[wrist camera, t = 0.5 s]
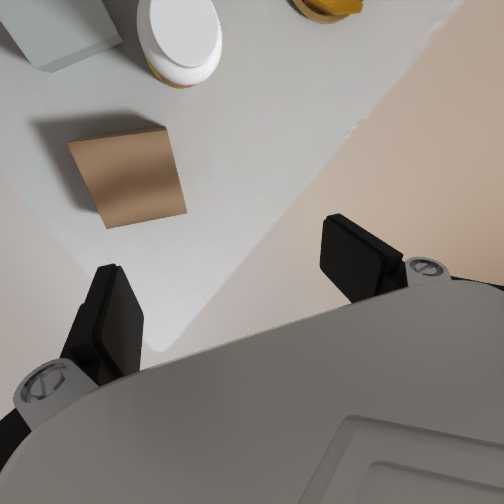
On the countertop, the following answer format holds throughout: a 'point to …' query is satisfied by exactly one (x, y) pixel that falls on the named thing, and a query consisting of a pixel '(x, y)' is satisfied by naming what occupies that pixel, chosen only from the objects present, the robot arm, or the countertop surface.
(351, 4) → the toy sandwich meal
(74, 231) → the countertop surface
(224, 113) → the countertop surface
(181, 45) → the supplement bottle
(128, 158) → the walnut block
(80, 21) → the slate block
